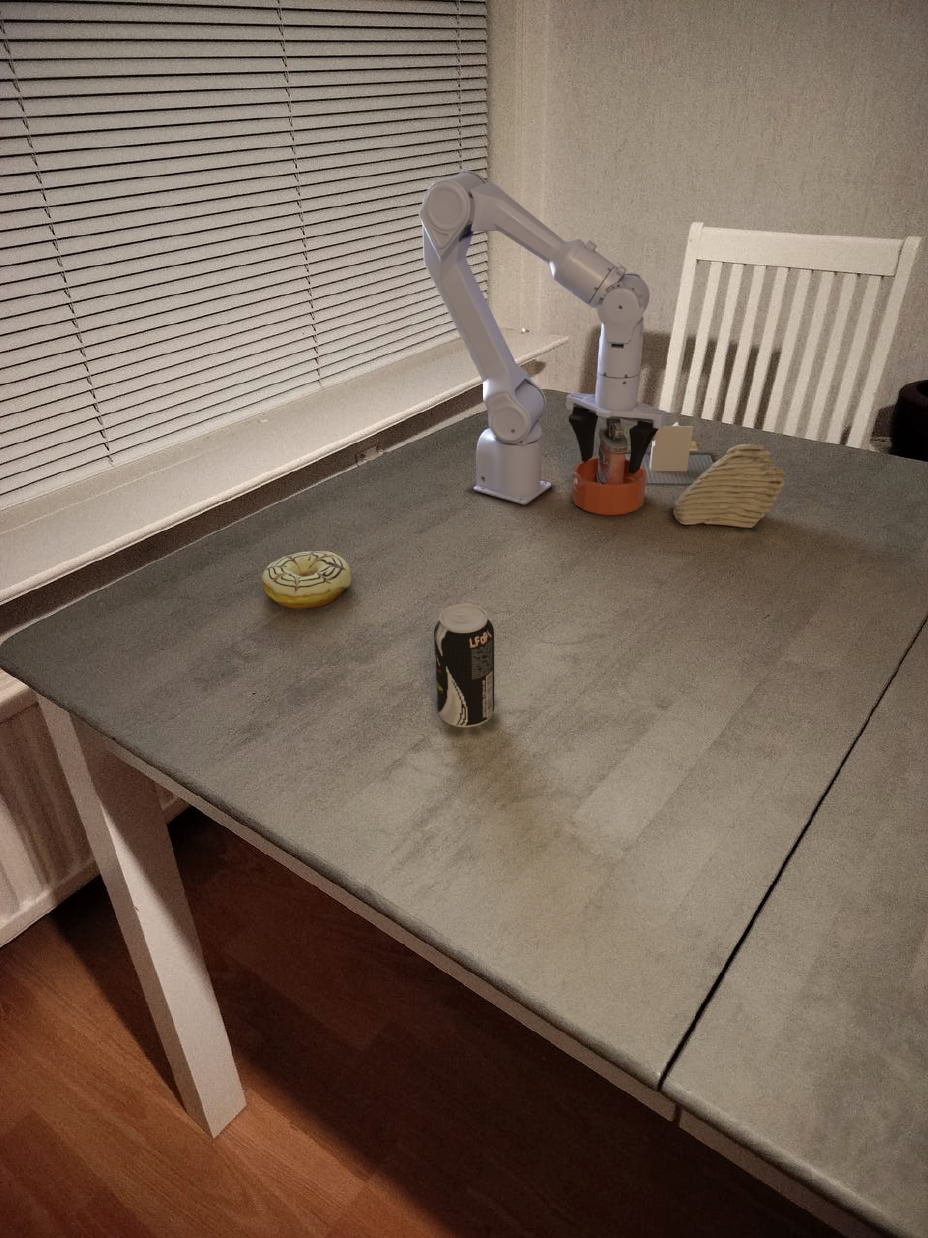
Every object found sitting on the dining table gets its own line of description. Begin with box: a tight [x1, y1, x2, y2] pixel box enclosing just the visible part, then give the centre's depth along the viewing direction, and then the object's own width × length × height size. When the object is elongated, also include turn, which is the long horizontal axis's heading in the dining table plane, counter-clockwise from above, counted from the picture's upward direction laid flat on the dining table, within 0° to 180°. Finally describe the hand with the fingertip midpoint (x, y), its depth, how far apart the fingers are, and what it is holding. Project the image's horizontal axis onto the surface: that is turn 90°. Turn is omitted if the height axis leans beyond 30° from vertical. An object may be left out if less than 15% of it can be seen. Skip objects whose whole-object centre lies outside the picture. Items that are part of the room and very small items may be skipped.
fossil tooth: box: [672, 443, 787, 529], centre depth 114 cm, size 12×6×15 cm
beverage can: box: [433, 603, 495, 728], centre depth 80 cm, size 6×6×12 cm
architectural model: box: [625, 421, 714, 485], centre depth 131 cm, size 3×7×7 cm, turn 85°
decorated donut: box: [261, 550, 352, 611], centre depth 103 cm, size 10×11×4 cm
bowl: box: [571, 456, 647, 517], centre depth 121 cm, size 10×10×5 cm
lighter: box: [596, 417, 629, 485], centre depth 118 cm, size 8×3×10 cm, turn 5°
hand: (610, 465), depth 119 cm, fingers open, 7 cm apart
